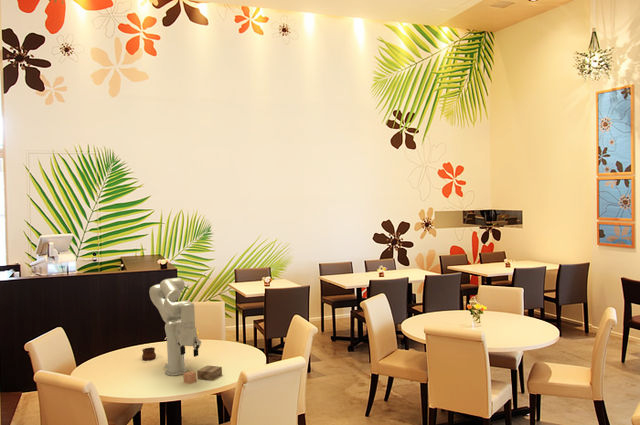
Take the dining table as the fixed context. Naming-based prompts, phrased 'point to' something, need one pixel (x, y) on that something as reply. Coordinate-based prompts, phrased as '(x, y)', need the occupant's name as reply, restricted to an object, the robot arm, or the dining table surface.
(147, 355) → the brown pouch
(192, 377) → the terracotta cube
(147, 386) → the dining table surface
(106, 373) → the dining table surface
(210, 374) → the block
